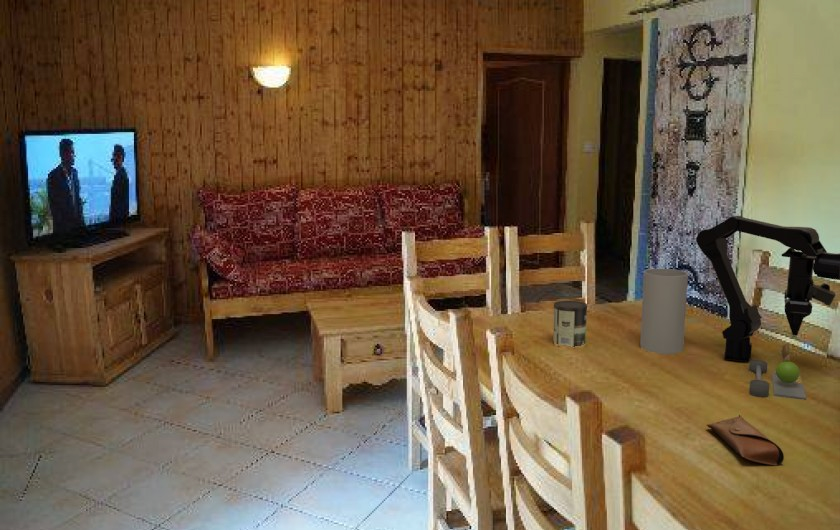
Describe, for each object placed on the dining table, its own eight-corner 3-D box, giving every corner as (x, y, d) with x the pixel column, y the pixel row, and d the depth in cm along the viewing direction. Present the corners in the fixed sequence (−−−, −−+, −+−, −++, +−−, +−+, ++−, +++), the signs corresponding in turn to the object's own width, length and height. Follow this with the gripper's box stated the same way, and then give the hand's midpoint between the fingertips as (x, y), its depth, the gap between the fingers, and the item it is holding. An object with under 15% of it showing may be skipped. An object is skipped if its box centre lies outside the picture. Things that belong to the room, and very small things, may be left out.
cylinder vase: (676, 346, 220) (681, 268, 215) (687, 359, 207) (693, 276, 203) (636, 346, 221) (640, 268, 216) (644, 358, 209) (649, 276, 204)
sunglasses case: (702, 422, 157) (723, 400, 156) (724, 441, 158) (745, 419, 157) (743, 458, 139) (766, 434, 138) (767, 479, 140) (790, 455, 139)
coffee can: (582, 342, 225) (583, 300, 222) (589, 352, 215) (590, 307, 212) (550, 342, 225) (551, 300, 223) (555, 352, 215) (556, 307, 212)
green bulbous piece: (797, 388, 181) (794, 346, 187) (802, 378, 176) (798, 335, 182) (774, 386, 183) (771, 345, 189) (778, 376, 178) (775, 334, 184)
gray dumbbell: (748, 399, 175) (750, 384, 175) (748, 372, 195) (749, 358, 195) (768, 402, 173) (769, 386, 173) (766, 374, 193) (767, 360, 193)
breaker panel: (773, 399, 175) (774, 388, 174) (771, 377, 191) (772, 367, 190) (805, 403, 172) (806, 392, 171) (800, 380, 188) (801, 370, 188)
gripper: (837, 284, 175) (830, 344, 178) (832, 271, 191) (826, 326, 194) (787, 280, 180) (781, 338, 183) (787, 267, 196) (781, 321, 199)
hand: (794, 331), depth 190 cm, fingers open, 9 cm apart
